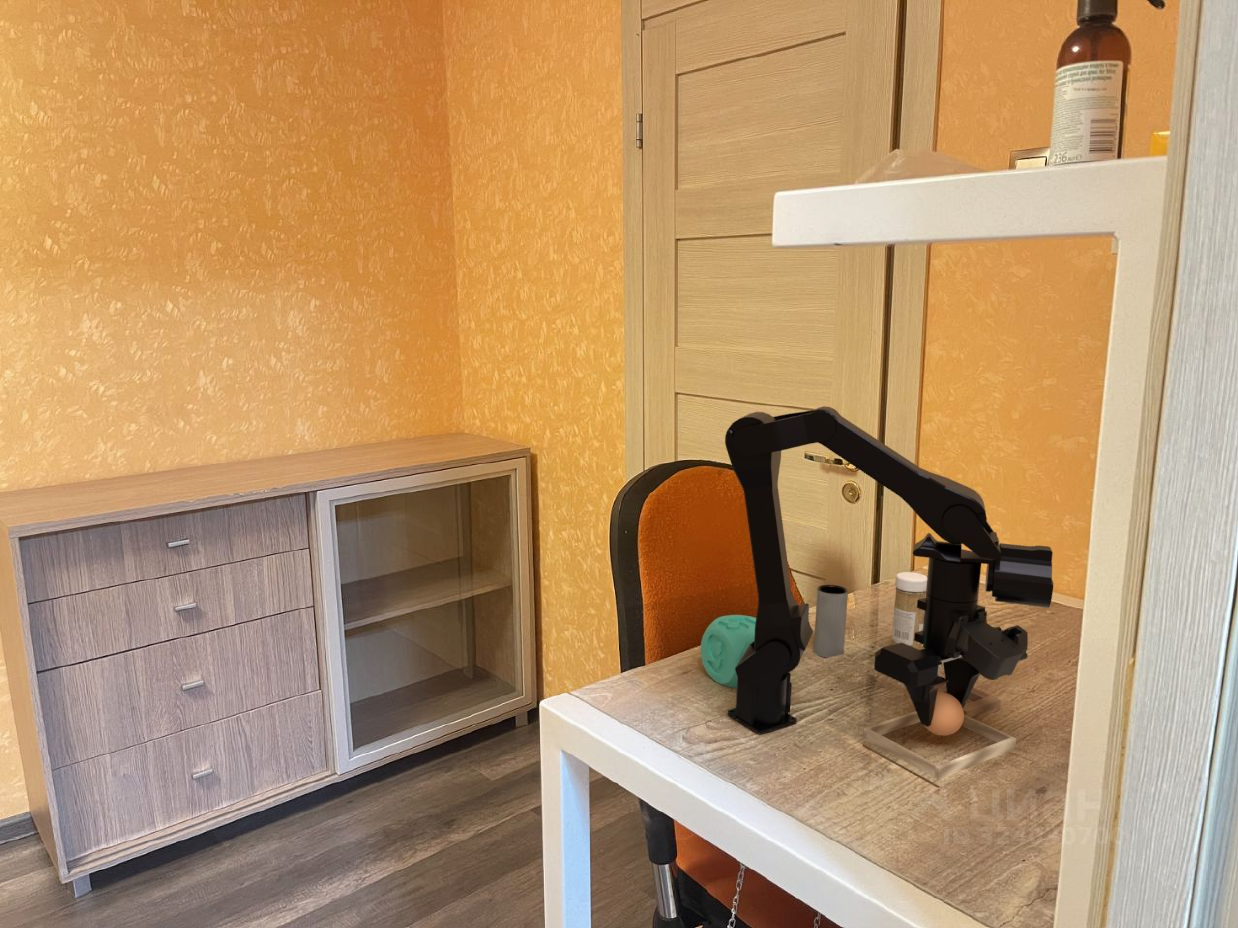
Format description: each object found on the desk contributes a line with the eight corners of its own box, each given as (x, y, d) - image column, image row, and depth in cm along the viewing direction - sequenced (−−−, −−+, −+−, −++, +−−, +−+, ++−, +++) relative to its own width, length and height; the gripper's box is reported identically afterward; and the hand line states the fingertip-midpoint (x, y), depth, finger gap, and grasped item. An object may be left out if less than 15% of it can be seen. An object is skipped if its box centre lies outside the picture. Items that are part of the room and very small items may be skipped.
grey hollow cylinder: (832, 645, 140) (836, 583, 138) (849, 656, 136) (854, 592, 134) (807, 649, 138) (811, 585, 136) (824, 660, 134) (828, 594, 132)
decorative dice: (777, 681, 126) (780, 627, 125) (735, 693, 122) (737, 638, 121) (740, 661, 133) (742, 610, 131) (698, 673, 128) (700, 620, 127)
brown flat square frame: (965, 726, 114) (966, 711, 113) (920, 705, 119) (921, 691, 119) (999, 713, 117) (1000, 699, 117) (954, 694, 123) (955, 680, 123)
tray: (937, 787, 99) (939, 768, 98) (862, 745, 108) (863, 728, 107) (1014, 756, 106) (1016, 738, 106) (938, 719, 115) (939, 702, 115)
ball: (943, 746, 103) (947, 706, 102) (909, 729, 107) (912, 690, 106) (971, 736, 106) (974, 697, 105) (936, 719, 110) (939, 681, 109)
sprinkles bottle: (927, 663, 133) (935, 577, 131) (904, 668, 131) (911, 581, 129) (905, 653, 137) (912, 569, 135) (882, 657, 135) (889, 572, 133)
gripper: (958, 630, 92) (945, 770, 95) (1063, 602, 102) (1049, 729, 104) (875, 600, 101) (866, 727, 104) (979, 576, 111) (968, 693, 114)
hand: (940, 719), depth 106 cm, fingers closed on ball, 5 cm apart
